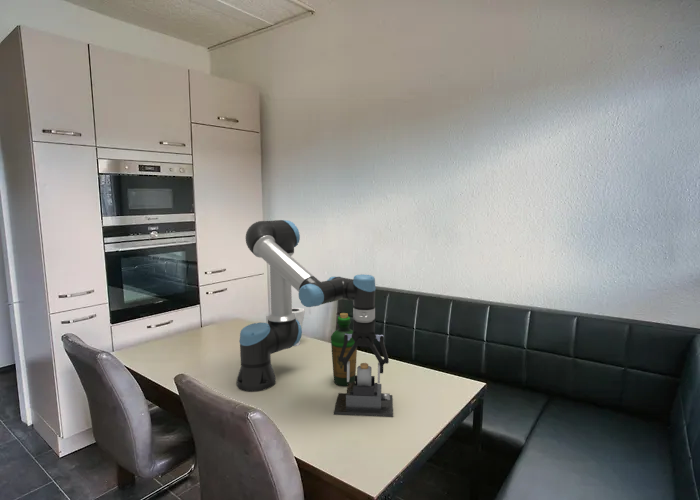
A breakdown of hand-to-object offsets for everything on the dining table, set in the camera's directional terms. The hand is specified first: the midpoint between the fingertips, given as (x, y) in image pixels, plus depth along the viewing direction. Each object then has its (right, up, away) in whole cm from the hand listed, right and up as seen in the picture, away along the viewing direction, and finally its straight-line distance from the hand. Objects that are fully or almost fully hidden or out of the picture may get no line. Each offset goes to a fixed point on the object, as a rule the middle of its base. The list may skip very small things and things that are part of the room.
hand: (363, 381), depth 144 cm
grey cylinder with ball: (0, -3, 0) cm, 3 cm away
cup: (-33, -2, +66) cm, 73 cm away
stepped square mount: (0, -9, +1) cm, 9 cm away
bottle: (-7, -7, +20) cm, 23 cm away
